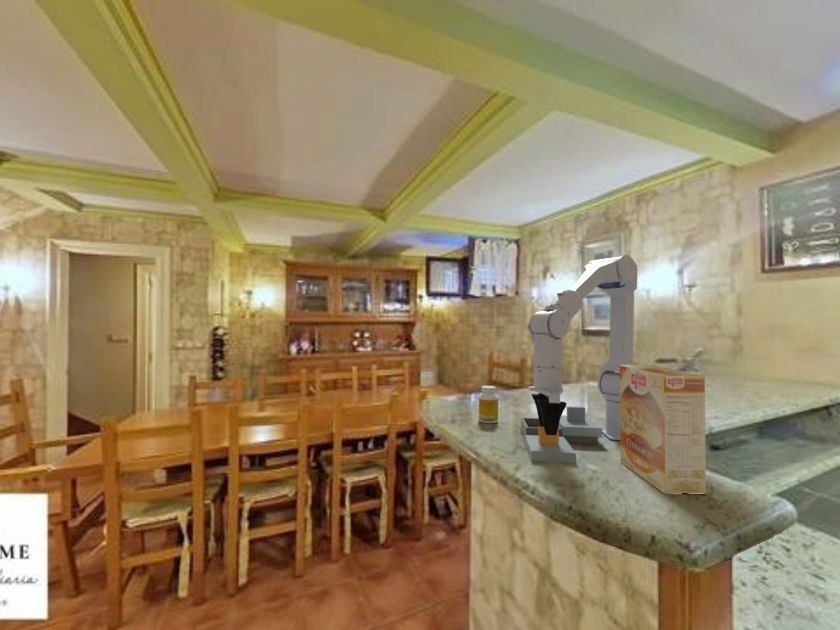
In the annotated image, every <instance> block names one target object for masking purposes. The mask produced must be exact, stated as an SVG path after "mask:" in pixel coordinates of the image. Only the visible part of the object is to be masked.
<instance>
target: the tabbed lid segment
mask: <svg viewBox="0 0 840 630" xmlns="http://www.w3.org/2000/svg"><path fill="white" fill-rule="evenodd" d="M524 446H525V447H526V451H527V453H528V455H529V458H530V461H531V462H543V463H562V464H577V453H576V451H575V450H574V449H573V447H572V446H571V445H570V444H569V443H568V442H567V441H566V439H565V438H564V437H559V428H558V431H557V434H556V435H546V434H545V430H544V426H538V436H536V435H525V438H524Z"/></svg>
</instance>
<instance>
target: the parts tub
mask: <svg viewBox="0 0 840 630" xmlns="http://www.w3.org/2000/svg"><path fill="white" fill-rule="evenodd" d="M538 426H540V423H539V418H538V417H520V431H521V433H522V435H523V438H524V439H525V435H536V436H538ZM558 428H559V437H564V438H565V439H566V441H567V442H568V443H569V445H570V444H573V445H591V446H592V445H595V446H598V445H599V437H590V436H567V435H563V430H562V428H561V427H560V426H558Z"/></svg>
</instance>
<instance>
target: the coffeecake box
mask: <svg viewBox="0 0 840 630" xmlns="http://www.w3.org/2000/svg"><path fill="white" fill-rule="evenodd" d="M619 373H620V440H619V442H620V463H621V464H622V465H624V466H625V467H627V468H628V469H629V470H631V471H633V472H634V473H635V474H636V475H638V476H639V477H641V478H642V479H643V480H645V481H646V482H647V483H649V484H651V486H653V487H654V486H655V487H654V488H656V489H657V488H658V489H657V490H659V491H660V492H662V493H663V494H664V495H674V494H673V493H705V492H706V493H707V483H706V482H707V481H706V479H707V478H706V477H707V476H706V475H707V474H706V472H707V470H706V468H707V464H706V457H707V455H706V454H707V453H706V399H705V398H706V392H705V391H706V389H705V386H706V385H705V383H706V382H705V380H706V378H705V377H706V375H704V374H698V373H693V372H689V371H688V372H687V371H682V370H678V369H672V368H667V367H662V366H657V365H653V364H651V365H649V364H647V365H645V364H643V365H641V364H638V365H620V372H619ZM670 493H672V494H670Z"/></svg>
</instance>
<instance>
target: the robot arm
mask: <svg viewBox="0 0 840 630" xmlns="http://www.w3.org/2000/svg"><path fill="white" fill-rule="evenodd" d="M583 270H584V271H583V273H582V274H581V276H580V277H579V278H578V279H577V281H575V283H574V284H573V286H572V287H571V288H570V289H564V290H558V291H557V293H556V296H555V297H554V299H553V300H552V301H550V302H549V303H547V304H546V305H545V306H544V307H545V308H544V309H543V310H542V311H536V312H535V313H534V314H532V316H530V319H529V322H528V323H527V329H528V332H529V333H530V335H531V343H532V345H533V364H534V365H533V386H532V385H531V386H528V390H529V391H532V392H536V393H531V397H532V399H533V401H534V404H535V408H536V412H537V418H539V423H540V426H544V430H545V434H546V435H556V434H557V431H558V426H559V422H560V418H561V415H563V414H564V413H563V412H564V411H565V409H566V408H567V406H568V405H567V402H566V401H561V395H562V394H563V393H564V388H563V337H564V336H566V335H567V333H568V332H569V327H570V326H569V325H570V324H571V322H572V319H573V318H575V316H576V315H577V314H578V313H579V312H580V311H581V310H582V309H583V306H584V299H585V298H586V297H587V296H588V295H590V293H592V292H593V291H594V290H595V289H596V288H597V289H598V290H600V292H603V293H605V294H606V295H608V297H609V298H610V309H609V311H610V313H609V315H610V316H609V352H608V353H609V356H608V357H609V358H608V360H607V361H606V362H605V363H603V364H602V365H601V366H600V367H599V368H600V371H599V372H600V373H599V375H598V378H597V388H598V392H599V393H600V394H601V395H602V399H605V428H602V435H605V436H606V438H608V439H609V440H610V441H611V440H613V441H620V365H639V364H638V363H636V362H635V361H634V338H635V337H634V333H635V332H634V329H635V328H634V326H635V325H634V324H635V323H634V321H635V319H634V318H635V291H636V290H637V289H638V264H637V263H636V262H635V260H634V258H632V257H631V256H630V255H628V254H623V255H620V256H615V257H607V258H602V259H593V260H590V261H589V262H588V263H587V264H586V265H585V266H584V269H583Z"/></svg>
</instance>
